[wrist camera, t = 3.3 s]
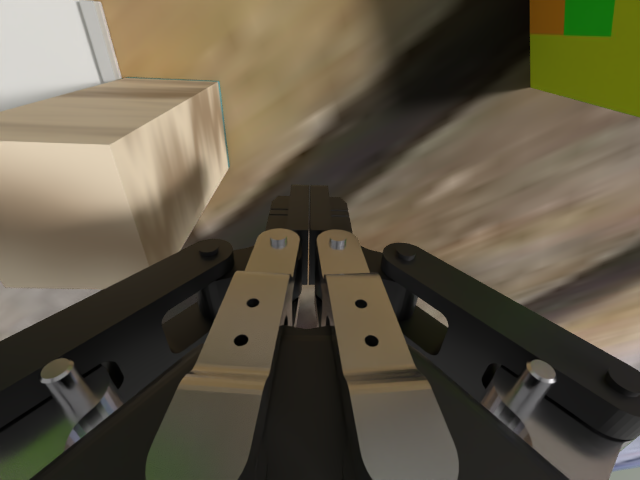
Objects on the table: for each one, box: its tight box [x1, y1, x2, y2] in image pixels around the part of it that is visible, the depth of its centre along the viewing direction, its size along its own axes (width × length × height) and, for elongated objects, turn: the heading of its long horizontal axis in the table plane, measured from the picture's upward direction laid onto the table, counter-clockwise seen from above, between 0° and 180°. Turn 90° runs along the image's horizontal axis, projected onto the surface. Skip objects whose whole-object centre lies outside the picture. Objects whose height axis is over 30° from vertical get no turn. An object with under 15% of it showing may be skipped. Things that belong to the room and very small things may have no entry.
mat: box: [0, 0, 122, 112], centre depth 22 cm, size 14×15×1 cm
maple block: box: [0, 77, 230, 289], centre depth 17 cm, size 6×6×14 cm
